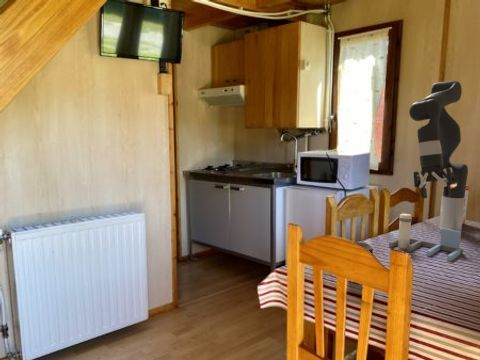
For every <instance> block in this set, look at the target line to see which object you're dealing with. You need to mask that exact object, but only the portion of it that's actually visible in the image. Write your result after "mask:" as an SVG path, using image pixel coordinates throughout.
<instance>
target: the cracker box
mask: <svg viewBox="0 0 480 360" xmlns="http://www.w3.org/2000/svg"><path fill="white" fill-rule="evenodd" d="M456 186H457V183H455V184H452V185H451V186H450V188H454V187H456ZM444 187H445V186H444V185H443V184H442V188H441V189H442V190H441V199H440V200H441V201H440V208H439V209H440V210H439V212H440V211H441V210H442V200H443V191H444ZM469 188H470V185H468V184H466V190H465V198H464V209H463V220H462V225H466V218H467V217H466V216H467V208H468V198H469V190H470V189H469ZM439 222H440V216H439V220H438V223H439Z"/></svg>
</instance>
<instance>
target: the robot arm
mask: <svg viewBox="0 0 480 360" xmlns="http://www.w3.org/2000/svg"><path fill="white" fill-rule="evenodd" d="M462 89H463V88H462V84H461V83H460V82H459V81H457V80H450V81H441V82H439V81H438V82H435V83H433V84H432V85H431V89H430V90H431V91H430V95H428V96H426V97H425V98H423V99H421V100H418V101H415V102H414V103H412V104H411V105H410V107H409V117H410V118H411V119H412V120H413V121H415V122H422V121H426V120H429V121H428V123H427V124H425V125H423V126H421V127H418V129H417V139H418V141H417V142H418V156H419V162H420V163H419V164H420V168H421V171H418V170H417V171H414V172H413V184H414V188H419V190H420V191H419V192H420V197H421V198H422V199H427V198H428V193H427V188H426V187H427V186H428V184H429V183H430V182H439V183H441V184H442V186H443V185H444V186H445V187H444V191H443V200H442V210H441V211H440V210H439V217H440V222H439V221H438V229H439V230H440V231H441V229H442V228H444V229H450V230H456V231H461V232H462V228H463V224H462V220H463V209H464V198H465V190H466V185H467V181H468V173H469V167H468V165H467V164H465V163H455V162H451V161H450V159H451V157H452V155H453V153H454V152H455V151H456V150H457V148H458V147H459V145H460V144H461V142H462V141H461V140H462V136H461V127H460V125H459V124H458V122H457V121H456V119H454V117H452V116H451V115H450V114H449V112H448V111H447V110H446V106H450V105H451V104H453V103H457V102H459V101H460V100H461V97H462V91H463V90H462ZM421 177H422V179H421ZM454 184H457V186H456V187H454V188H450V186H451V185H454Z"/></svg>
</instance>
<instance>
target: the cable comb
mask: <svg viewBox="0 0 480 360" xmlns="http://www.w3.org/2000/svg"><path fill="white" fill-rule="evenodd" d="M461 235H462V230H461V231H456V230H450V229H444V228H442V229H441V230H440V241H439V242H440V243H435V242H432V241H427V240H421V239H417V238H412V237H410V243H409V246H407V249H406V251H407V252H409V253H411V252H412V251H415V250H417V249H418V248H420V247H427V248H429V249H427V250H426V257H431V256H433V255H435V254H436V253H438V252H439V251H444V252H449V254H447V259H446V261H448V262H452V261H453V260H455V259H456V258H457V257H460V255H464V250H465V249H464V248H461V247H460V245H461V237H462V236H461ZM396 246H398V238H396V239H393V240H391V241H390V242H389V244H388V247H389V248H392V249H393V248H394V247H396Z"/></svg>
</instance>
